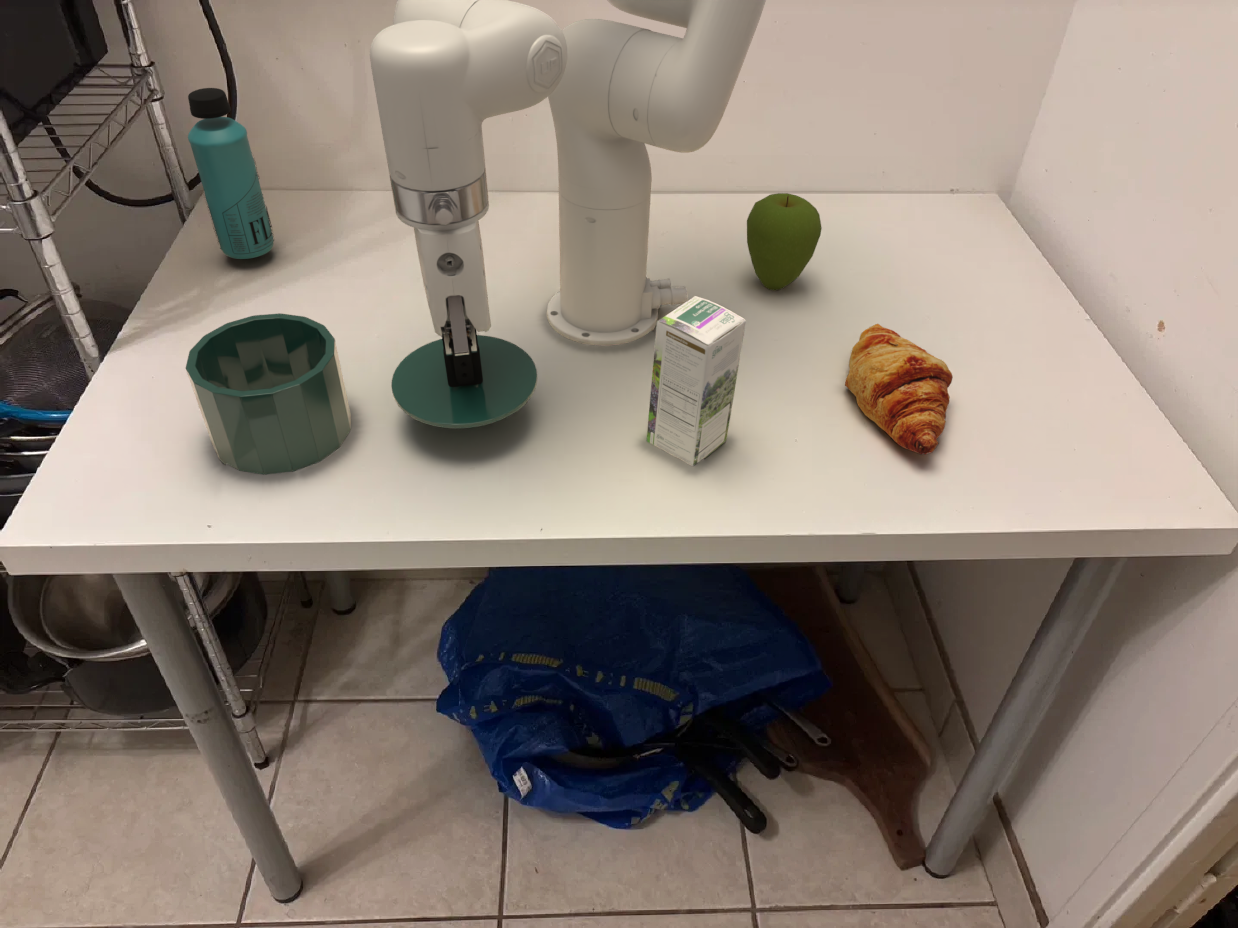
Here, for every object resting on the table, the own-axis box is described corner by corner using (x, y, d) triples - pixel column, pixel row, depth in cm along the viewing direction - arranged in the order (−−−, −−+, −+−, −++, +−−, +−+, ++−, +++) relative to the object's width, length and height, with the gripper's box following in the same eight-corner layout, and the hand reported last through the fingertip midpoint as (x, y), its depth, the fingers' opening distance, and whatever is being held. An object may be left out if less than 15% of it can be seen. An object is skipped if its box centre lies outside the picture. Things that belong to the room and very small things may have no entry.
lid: (527, 336, 94) (523, 280, 89) (547, 423, 84) (544, 365, 80) (391, 351, 92) (380, 295, 87) (395, 442, 82) (383, 384, 78)
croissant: (837, 367, 106) (815, 314, 101) (924, 331, 103) (905, 275, 98) (889, 493, 90) (865, 437, 85) (992, 454, 87) (974, 394, 82)
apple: (823, 294, 111) (842, 205, 103) (763, 309, 108) (778, 218, 100) (784, 260, 117) (798, 173, 109) (726, 273, 114) (736, 185, 106)
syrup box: (680, 417, 93) (692, 291, 83) (729, 442, 90) (747, 315, 80) (645, 445, 90) (653, 317, 80) (694, 472, 87) (709, 343, 77)
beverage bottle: (263, 274, 111) (219, 106, 97) (211, 267, 112) (161, 99, 98) (288, 247, 116) (250, 84, 102) (238, 241, 116) (194, 78, 103)
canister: (352, 387, 95) (335, 308, 89) (351, 469, 86) (332, 387, 79) (222, 400, 93) (196, 319, 86) (207, 485, 84) (176, 402, 77)
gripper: (498, 237, 69) (514, 423, 82) (478, 144, 81) (495, 320, 93) (395, 247, 68) (428, 434, 81) (390, 151, 80) (419, 328, 92)
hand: (464, 371), depth 87 cm, fingers closed on lid, 2 cm apart
